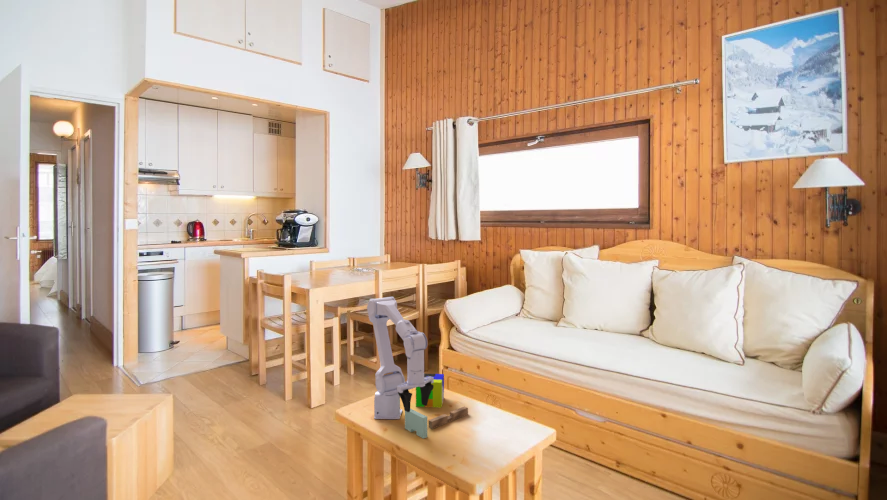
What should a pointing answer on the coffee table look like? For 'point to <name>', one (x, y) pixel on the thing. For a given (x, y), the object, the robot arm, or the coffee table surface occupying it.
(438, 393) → the puzzle toy
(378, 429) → the coffee table surface
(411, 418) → the teal plate
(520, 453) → the coffee table surface
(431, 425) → the walnut rail
